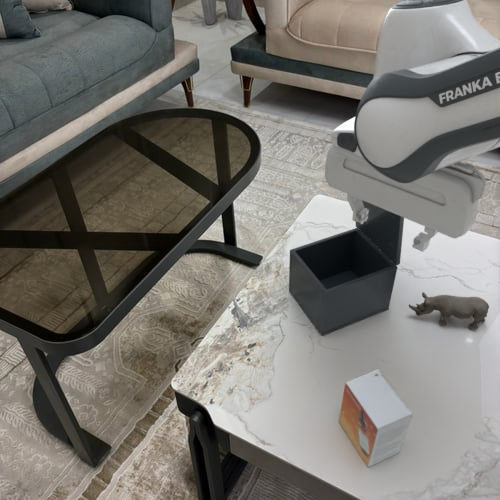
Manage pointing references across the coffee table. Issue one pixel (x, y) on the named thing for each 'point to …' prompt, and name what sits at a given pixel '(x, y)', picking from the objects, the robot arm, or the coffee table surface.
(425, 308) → the rhino figurine
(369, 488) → the coffee table surface
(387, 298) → the bin
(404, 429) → the small box
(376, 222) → the bin lid
